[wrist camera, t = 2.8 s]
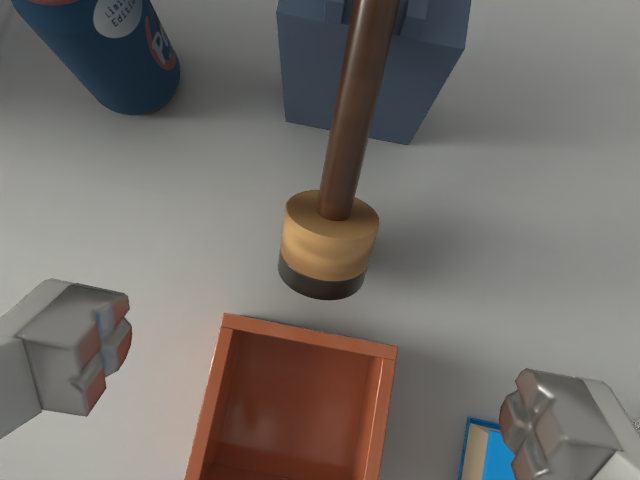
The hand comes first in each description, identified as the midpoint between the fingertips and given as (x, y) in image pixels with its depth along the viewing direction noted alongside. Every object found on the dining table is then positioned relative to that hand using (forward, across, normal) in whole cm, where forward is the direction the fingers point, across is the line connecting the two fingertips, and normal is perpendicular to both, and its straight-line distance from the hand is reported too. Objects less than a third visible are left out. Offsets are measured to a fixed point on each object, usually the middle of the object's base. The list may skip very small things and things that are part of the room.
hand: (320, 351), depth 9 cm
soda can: (+28, +17, +2) cm, 33 cm away
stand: (+28, 0, +1) cm, 28 cm away
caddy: (+13, 0, +18) cm, 23 cm away
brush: (+23, 0, +7) cm, 24 cm away
